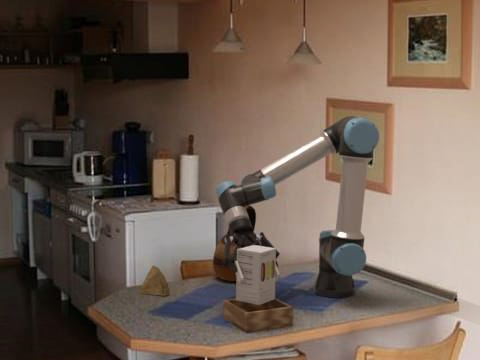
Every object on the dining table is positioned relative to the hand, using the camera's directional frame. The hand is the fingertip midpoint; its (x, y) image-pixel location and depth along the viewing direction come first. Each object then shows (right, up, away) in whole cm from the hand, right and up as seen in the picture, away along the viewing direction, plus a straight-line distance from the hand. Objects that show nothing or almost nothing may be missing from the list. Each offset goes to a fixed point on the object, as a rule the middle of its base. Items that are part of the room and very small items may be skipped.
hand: (259, 278), depth 257 cm
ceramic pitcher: (-7, -7, +61) cm, 62 cm away
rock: (-37, -10, +37) cm, 54 cm away
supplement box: (-1, -7, +3) cm, 8 cm away
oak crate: (0, -14, +4) cm, 15 cm away
